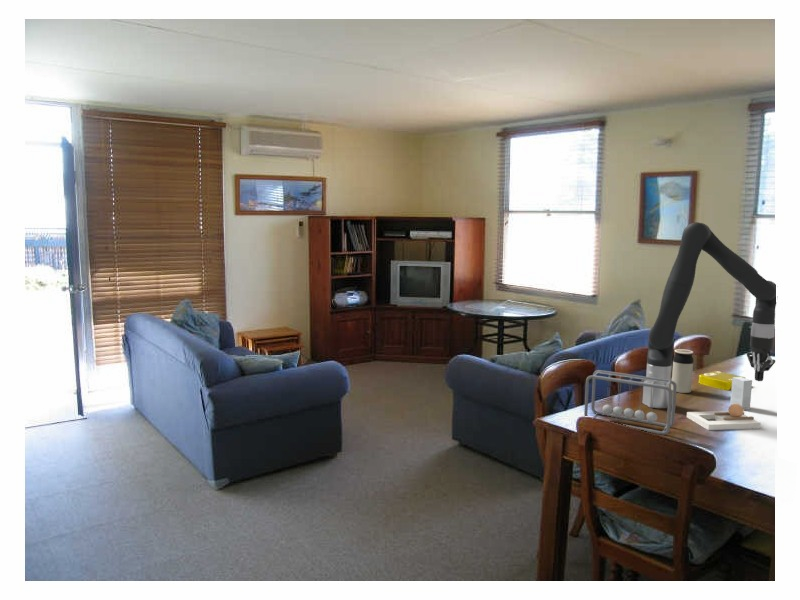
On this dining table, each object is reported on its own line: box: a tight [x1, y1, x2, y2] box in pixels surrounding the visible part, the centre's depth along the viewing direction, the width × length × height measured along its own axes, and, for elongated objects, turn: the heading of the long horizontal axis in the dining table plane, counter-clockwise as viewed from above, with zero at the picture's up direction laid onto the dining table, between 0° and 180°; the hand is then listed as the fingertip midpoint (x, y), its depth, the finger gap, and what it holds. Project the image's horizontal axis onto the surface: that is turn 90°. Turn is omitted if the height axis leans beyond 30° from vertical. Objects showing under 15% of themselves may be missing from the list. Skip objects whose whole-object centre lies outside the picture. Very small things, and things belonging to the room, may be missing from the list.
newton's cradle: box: [584, 369, 677, 436], centre depth 226 cm, size 30×10×18 cm, turn 57°
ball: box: [727, 404, 745, 417], centre depth 228 cm, size 5×5×5 cm
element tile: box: [698, 370, 746, 392], centre depth 278 cm, size 15×15×5 cm
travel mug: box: [670, 348, 694, 394], centre depth 267 cm, size 8×8×18 cm
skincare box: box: [729, 376, 753, 411], centre depth 245 cm, size 6×4×12 cm
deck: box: [686, 410, 761, 431], centre depth 228 cm, size 20×14×3 cm
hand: (758, 380), depth 227 cm, fingers closed
